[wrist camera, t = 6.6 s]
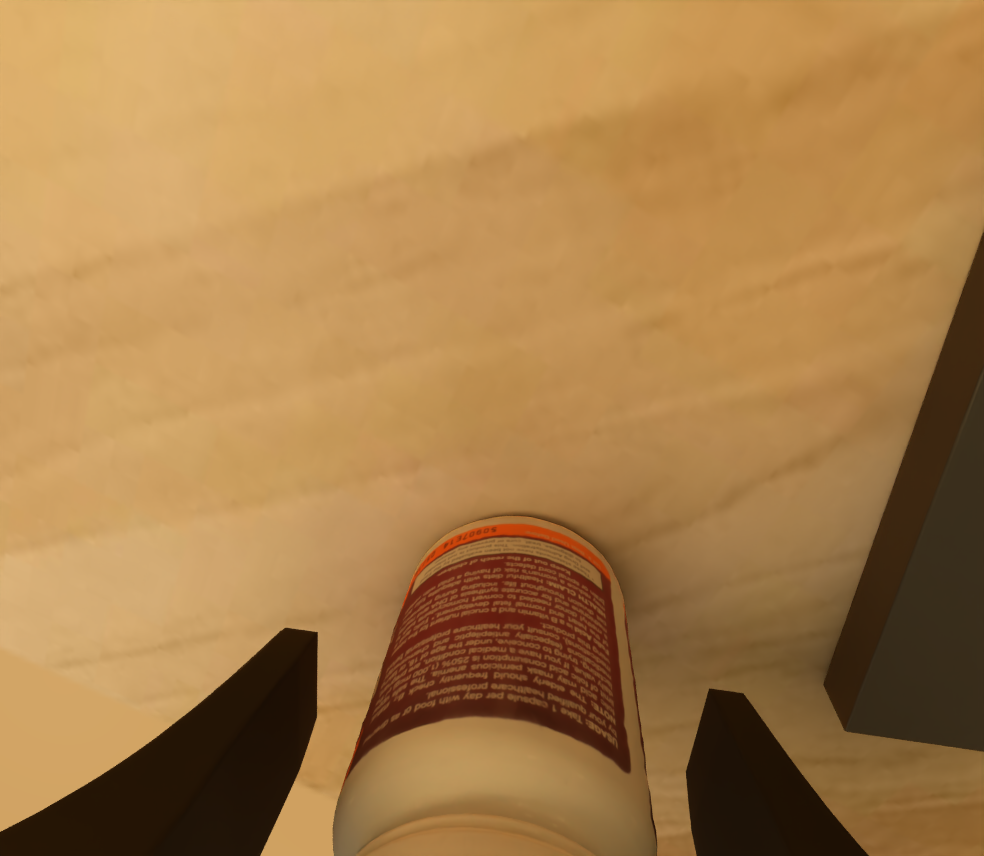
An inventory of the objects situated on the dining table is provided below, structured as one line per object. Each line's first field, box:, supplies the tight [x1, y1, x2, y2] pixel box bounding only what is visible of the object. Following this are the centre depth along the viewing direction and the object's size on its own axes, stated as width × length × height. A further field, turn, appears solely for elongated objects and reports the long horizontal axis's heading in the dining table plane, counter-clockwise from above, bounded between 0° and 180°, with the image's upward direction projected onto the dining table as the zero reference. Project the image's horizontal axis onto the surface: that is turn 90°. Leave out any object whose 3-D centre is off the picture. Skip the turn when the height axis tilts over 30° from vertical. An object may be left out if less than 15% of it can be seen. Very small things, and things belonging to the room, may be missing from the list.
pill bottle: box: [333, 516, 657, 856], centre depth 12 cm, size 5×5×8 cm
